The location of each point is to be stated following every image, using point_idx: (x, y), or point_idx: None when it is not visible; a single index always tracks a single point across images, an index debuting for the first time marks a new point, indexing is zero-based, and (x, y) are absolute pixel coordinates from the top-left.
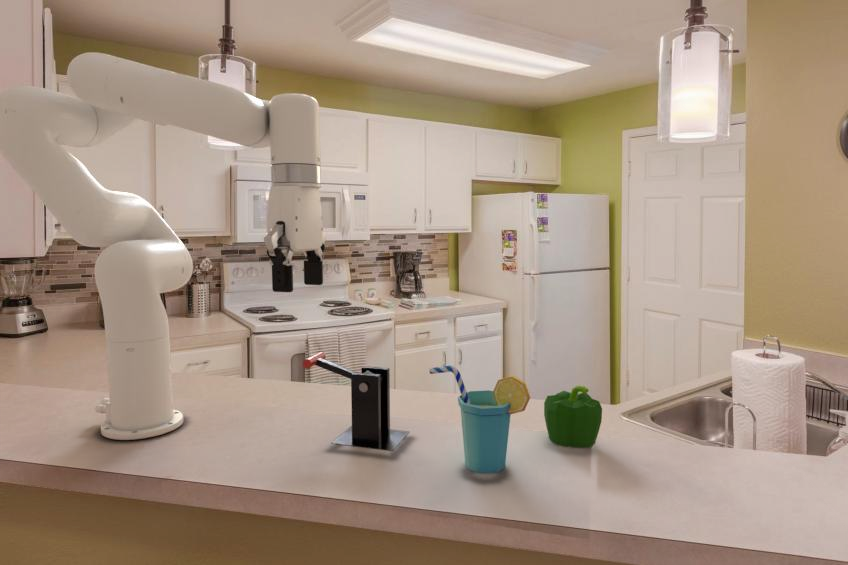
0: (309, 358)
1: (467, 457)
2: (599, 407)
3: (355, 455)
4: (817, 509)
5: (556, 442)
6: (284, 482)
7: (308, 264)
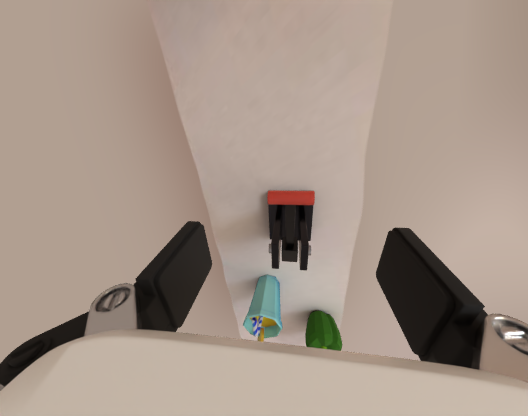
0: (272, 202)
1: (258, 285)
2: None
3: (267, 211)
4: None
5: (310, 315)
6: (208, 184)
7: (429, 306)
